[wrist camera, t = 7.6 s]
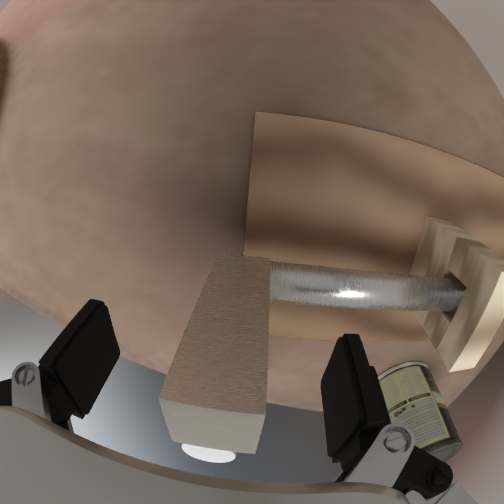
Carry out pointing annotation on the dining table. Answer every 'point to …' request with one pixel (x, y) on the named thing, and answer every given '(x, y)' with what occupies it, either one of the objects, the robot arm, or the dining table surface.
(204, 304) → the crank handle
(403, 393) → the coffee can
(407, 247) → the bearing stand
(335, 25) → the dining table surface
